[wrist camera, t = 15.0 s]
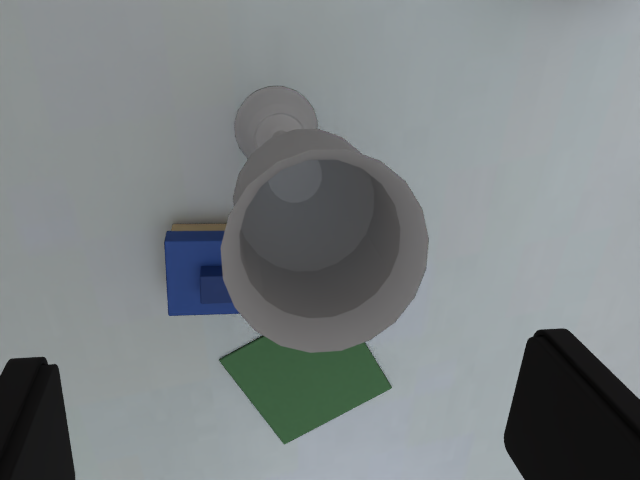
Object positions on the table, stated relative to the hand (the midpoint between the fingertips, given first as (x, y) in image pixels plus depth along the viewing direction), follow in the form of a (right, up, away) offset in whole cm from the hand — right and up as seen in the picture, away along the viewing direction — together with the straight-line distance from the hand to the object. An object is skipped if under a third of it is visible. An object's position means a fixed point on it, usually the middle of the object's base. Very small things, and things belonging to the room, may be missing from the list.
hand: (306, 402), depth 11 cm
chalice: (-2, +10, +23) cm, 26 cm away
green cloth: (-1, -7, +31) cm, 32 cm away
